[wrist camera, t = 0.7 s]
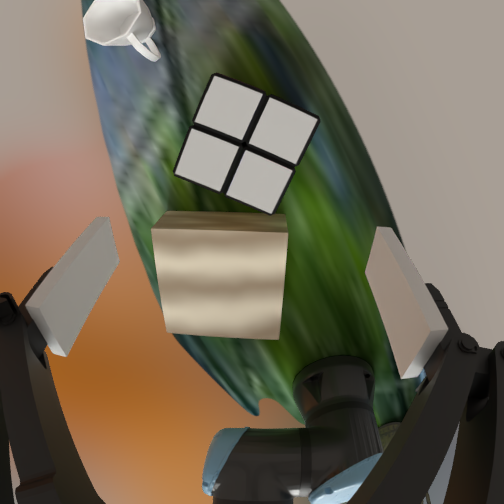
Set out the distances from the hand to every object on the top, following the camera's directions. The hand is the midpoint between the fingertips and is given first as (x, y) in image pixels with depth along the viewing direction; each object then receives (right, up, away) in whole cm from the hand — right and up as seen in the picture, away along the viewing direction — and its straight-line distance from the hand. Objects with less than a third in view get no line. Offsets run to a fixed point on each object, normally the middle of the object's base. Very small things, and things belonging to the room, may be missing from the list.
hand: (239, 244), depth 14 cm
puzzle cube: (0, +13, +19) cm, 23 cm away
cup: (-12, +25, +14) cm, 31 cm away
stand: (-3, -2, +27) cm, 27 cm away
